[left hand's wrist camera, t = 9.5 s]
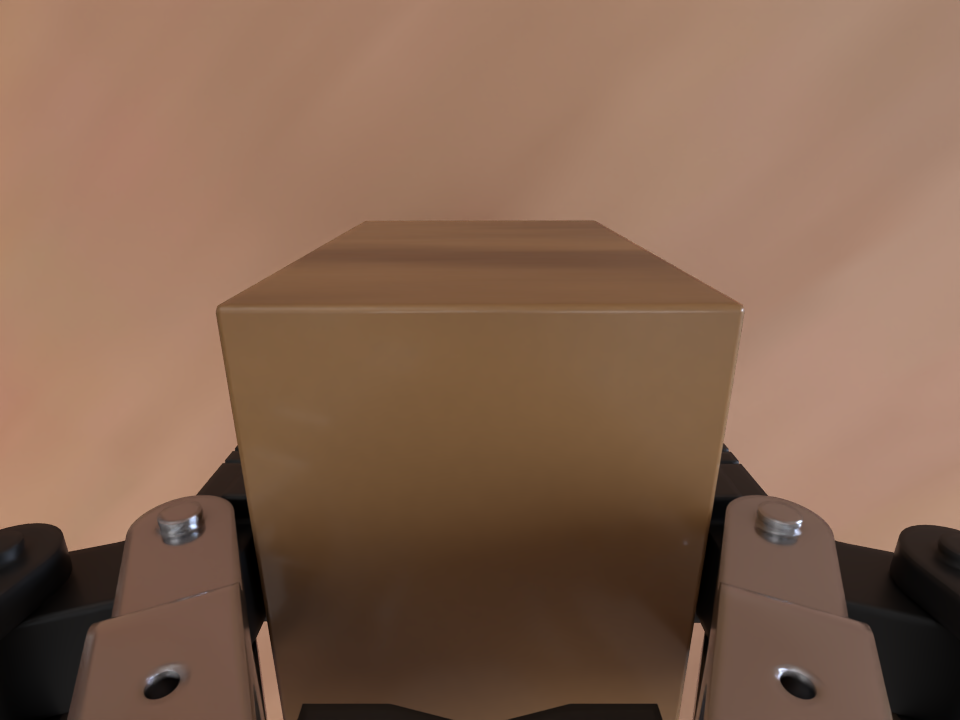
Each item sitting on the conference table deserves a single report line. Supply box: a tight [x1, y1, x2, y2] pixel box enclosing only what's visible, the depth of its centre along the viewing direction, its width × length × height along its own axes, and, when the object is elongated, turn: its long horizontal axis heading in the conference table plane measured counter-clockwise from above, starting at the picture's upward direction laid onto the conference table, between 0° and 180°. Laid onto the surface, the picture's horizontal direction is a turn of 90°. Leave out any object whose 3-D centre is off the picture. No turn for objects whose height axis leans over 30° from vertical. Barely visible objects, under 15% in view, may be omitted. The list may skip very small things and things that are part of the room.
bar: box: [216, 221, 744, 720], centre depth 14 cm, size 23×6×9 cm, turn 0°
